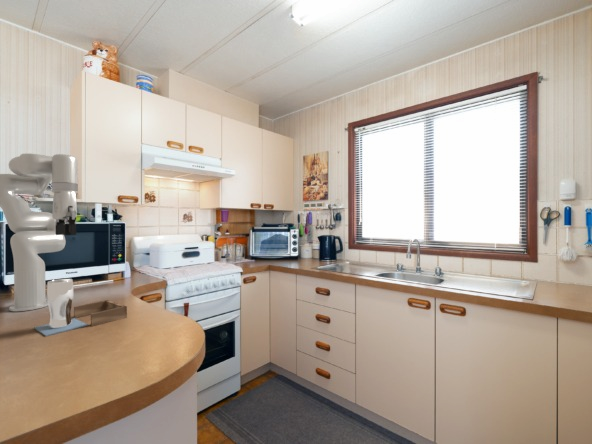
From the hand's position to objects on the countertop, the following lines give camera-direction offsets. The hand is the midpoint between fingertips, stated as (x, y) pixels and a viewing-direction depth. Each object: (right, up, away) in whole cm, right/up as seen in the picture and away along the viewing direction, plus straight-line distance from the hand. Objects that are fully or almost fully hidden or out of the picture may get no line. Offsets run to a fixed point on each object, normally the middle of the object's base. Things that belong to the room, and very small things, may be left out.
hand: (65, 234), depth 107 cm
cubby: (+14, -30, -2) cm, 33 cm away
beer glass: (+7, -30, -11) cm, 33 cm away
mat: (+7, -30, -11) cm, 33 cm away
